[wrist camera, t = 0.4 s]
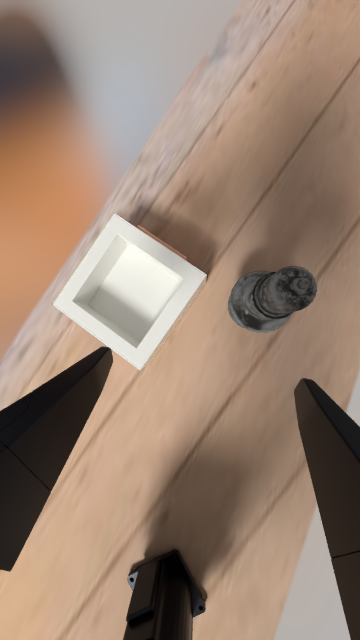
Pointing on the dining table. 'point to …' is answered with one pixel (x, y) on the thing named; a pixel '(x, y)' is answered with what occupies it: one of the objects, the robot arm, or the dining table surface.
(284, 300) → the dark chess piece
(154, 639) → the robot arm
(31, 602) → the dining table surface
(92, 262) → the tagged holder
